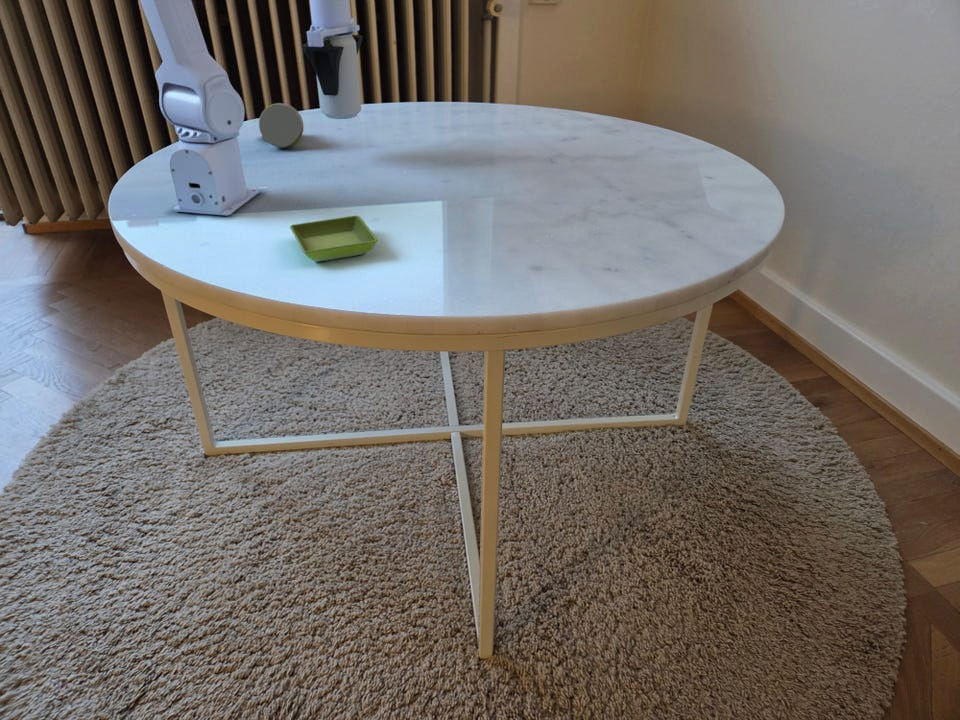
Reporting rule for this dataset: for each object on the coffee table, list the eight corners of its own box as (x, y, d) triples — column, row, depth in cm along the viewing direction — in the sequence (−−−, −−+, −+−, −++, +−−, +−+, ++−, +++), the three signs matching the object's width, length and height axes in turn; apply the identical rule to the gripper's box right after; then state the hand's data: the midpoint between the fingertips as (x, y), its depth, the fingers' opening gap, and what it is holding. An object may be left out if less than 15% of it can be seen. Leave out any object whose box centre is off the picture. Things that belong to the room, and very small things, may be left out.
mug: (310, 134, 123) (311, 89, 114) (297, 172, 118) (298, 129, 109) (268, 123, 121) (266, 77, 113) (254, 162, 117) (251, 117, 108)
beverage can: (343, 108, 111) (335, 27, 105) (370, 114, 108) (363, 32, 101) (312, 115, 107) (302, 32, 100) (339, 122, 104) (330, 36, 97)
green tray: (291, 240, 83) (288, 224, 82) (360, 229, 86) (358, 214, 85) (305, 269, 76) (303, 252, 75) (380, 256, 79) (378, 240, 78)
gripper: (337, -3, 91) (346, 102, 99) (371, -13, 103) (377, 81, 111) (287, -5, 92) (301, 99, 100) (327, -15, 104) (336, 79, 112)
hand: (338, 90), depth 105 cm, fingers closed on beverage can, 6 cm apart
